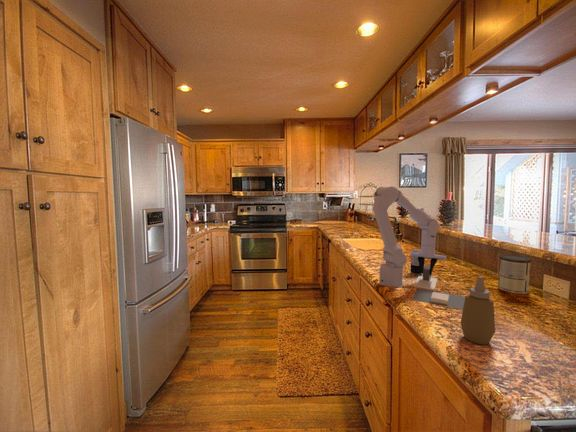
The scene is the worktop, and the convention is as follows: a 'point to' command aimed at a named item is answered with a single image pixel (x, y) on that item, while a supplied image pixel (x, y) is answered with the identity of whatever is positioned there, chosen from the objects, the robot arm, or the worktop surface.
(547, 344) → the worktop surface
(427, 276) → the grey bar
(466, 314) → the squeeze bottle
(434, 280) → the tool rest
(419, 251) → the beverage can
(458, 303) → the mat
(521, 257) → the coffee can
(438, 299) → the tile
